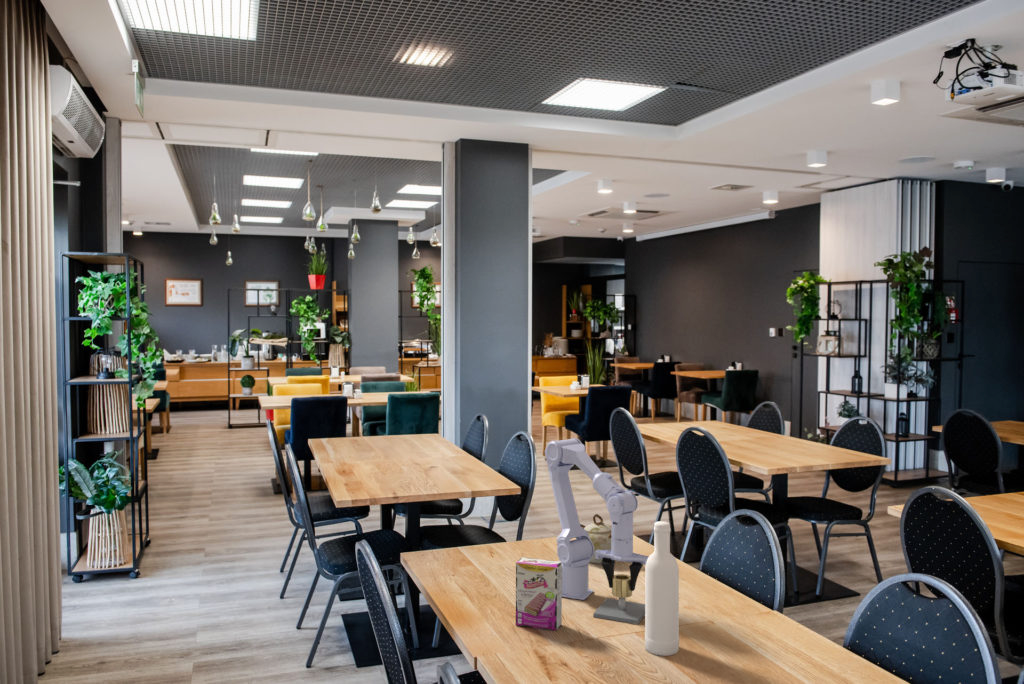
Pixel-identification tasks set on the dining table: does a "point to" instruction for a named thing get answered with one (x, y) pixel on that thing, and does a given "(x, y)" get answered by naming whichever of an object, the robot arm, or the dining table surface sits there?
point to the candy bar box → (539, 593)
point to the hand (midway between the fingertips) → (622, 588)
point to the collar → (621, 586)
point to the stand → (621, 611)
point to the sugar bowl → (599, 536)
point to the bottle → (662, 595)
